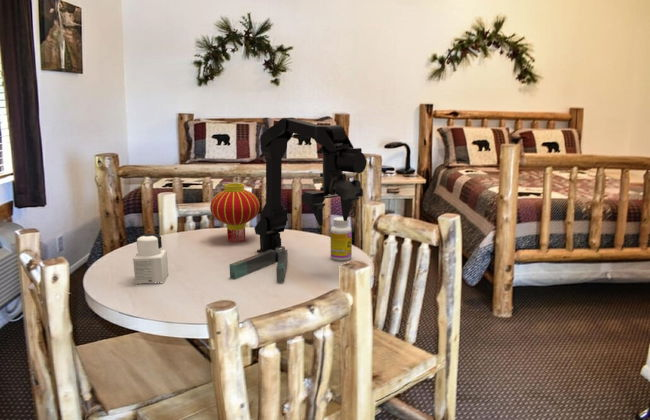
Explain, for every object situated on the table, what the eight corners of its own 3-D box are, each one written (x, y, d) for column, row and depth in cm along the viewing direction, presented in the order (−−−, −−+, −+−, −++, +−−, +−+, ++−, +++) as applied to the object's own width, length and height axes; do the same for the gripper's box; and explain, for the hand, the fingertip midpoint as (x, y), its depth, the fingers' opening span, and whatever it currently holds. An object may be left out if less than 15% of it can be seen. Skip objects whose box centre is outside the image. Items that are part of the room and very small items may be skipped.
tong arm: (276, 282, 153) (276, 268, 153) (281, 262, 171) (280, 249, 170) (284, 282, 154) (283, 268, 153) (287, 262, 171) (287, 249, 170)
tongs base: (230, 277, 158) (229, 262, 157) (277, 259, 176) (277, 245, 175) (239, 280, 156) (239, 265, 155) (287, 261, 173) (287, 247, 173)
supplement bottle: (349, 261, 172) (349, 221, 169) (328, 260, 173) (328, 220, 171) (353, 255, 178) (353, 216, 176) (332, 254, 180) (332, 215, 177)
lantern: (201, 242, 196) (196, 157, 190) (236, 232, 210) (232, 152, 203) (237, 249, 186) (233, 160, 180) (270, 238, 200) (268, 155, 194)
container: (141, 275, 161) (137, 232, 158) (168, 274, 162) (165, 231, 159) (135, 284, 154) (131, 239, 151) (163, 283, 154) (160, 238, 151)
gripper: (324, 176, 147) (325, 233, 150) (376, 169, 158) (375, 223, 161) (299, 172, 155) (300, 226, 159) (350, 166, 167) (350, 216, 170)
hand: (333, 223), depth 162 cm, fingers open, 9 cm apart
